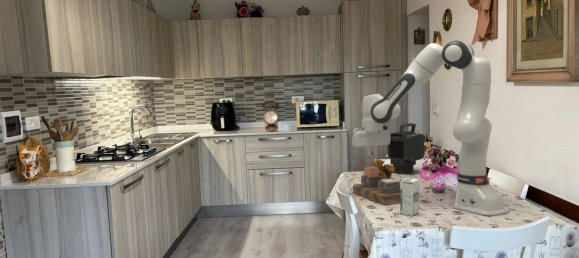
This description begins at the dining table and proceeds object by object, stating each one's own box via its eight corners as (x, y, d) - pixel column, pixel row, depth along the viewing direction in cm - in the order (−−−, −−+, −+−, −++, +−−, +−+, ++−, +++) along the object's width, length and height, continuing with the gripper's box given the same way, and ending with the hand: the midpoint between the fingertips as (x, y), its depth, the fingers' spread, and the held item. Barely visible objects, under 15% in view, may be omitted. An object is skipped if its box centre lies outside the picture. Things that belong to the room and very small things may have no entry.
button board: (409, 201, 200) (409, 182, 199) (384, 205, 195) (383, 185, 194) (376, 189, 224) (376, 172, 223) (352, 193, 218) (352, 175, 217)
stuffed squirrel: (365, 181, 244) (365, 158, 243) (386, 179, 249) (386, 156, 248) (375, 185, 235) (375, 160, 234) (397, 182, 240) (397, 158, 239)
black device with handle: (400, 169, 277) (400, 122, 274) (425, 173, 263) (425, 123, 260) (385, 172, 267) (385, 123, 264) (410, 176, 254) (410, 125, 251)
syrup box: (405, 210, 186) (405, 177, 184) (419, 213, 182) (419, 178, 181) (399, 214, 181) (399, 179, 180) (413, 216, 178) (413, 181, 176)
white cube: (396, 191, 201) (396, 180, 201) (387, 192, 199) (387, 181, 199) (390, 189, 206) (390, 178, 205) (381, 190, 204) (381, 179, 203)
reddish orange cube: (378, 177, 214) (378, 167, 213) (370, 178, 212) (370, 168, 211) (372, 176, 218) (372, 166, 218) (364, 177, 216) (364, 167, 216)
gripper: (356, 128, 205) (356, 157, 207) (392, 126, 213) (392, 154, 215) (349, 127, 211) (349, 155, 212) (384, 125, 219) (384, 152, 221)
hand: (371, 155), depth 214 cm, fingers closed
